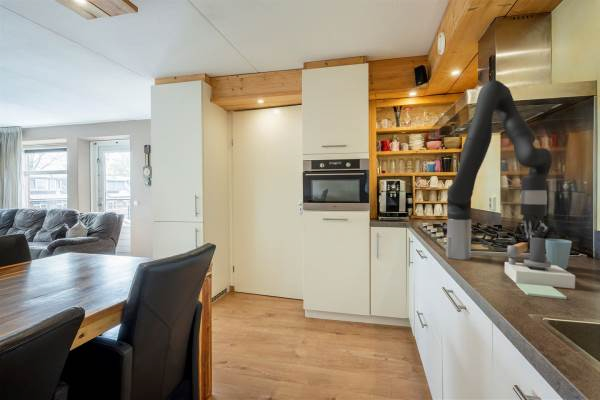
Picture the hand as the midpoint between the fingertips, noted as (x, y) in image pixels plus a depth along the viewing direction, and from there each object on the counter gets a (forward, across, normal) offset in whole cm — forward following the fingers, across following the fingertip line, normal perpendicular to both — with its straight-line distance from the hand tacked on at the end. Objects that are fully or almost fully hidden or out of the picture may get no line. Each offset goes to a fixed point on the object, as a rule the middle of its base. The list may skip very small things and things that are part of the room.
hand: (532, 249), depth 106 cm
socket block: (+8, -11, +6) cm, 15 cm away
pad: (+8, -22, +13) cm, 26 cm away
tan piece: (+1, -2, +6) cm, 7 cm away
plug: (+8, -11, +6) cm, 15 cm away
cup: (+8, +5, -13) cm, 16 cm away
